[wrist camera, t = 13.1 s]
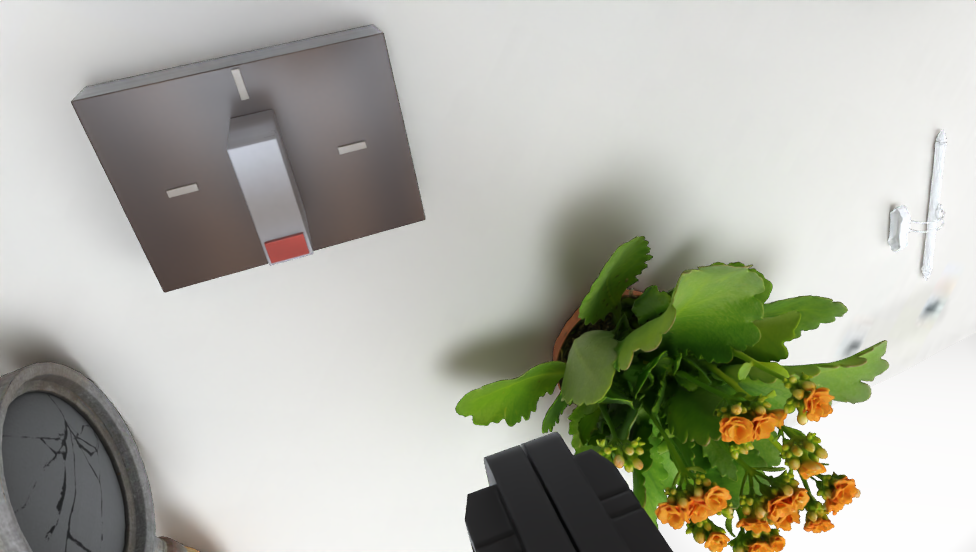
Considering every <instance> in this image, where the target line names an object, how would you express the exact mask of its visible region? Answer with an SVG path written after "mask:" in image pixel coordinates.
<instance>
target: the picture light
mask: <svg viewBox="0 0 976 552" xmlns="http://www.w3.org/2000/svg"><path fill="white" fill-rule="evenodd" d="M946 139H947V138H946V134H945V133H944V130H941V131H940V133H939V134H938V137H937V138H936V141H937V142H935V156H934V165H933V175H932V184H931V194H930V203H929V213H928V222H917V221H912V220H911V217H910V214H909V212H908V211H907V207H906V206H904V205H902V206H899V207H897V208H895V209H894V210H893V211H892V212H890V217H891V224H890V237H889V239H888V243H889V245H890V246H891V250H892V251H893V252H897V251H899V250H901V249H903V248H904V247H906V246H907V245H908V242H907V233H909V232H910V231H914V232H921V233H926V241H925V250H924V260H923V266H922V274H923V277H924V280H927V278H929V276H930V274H931V271H932V261H933V253H934V244H935V235H936V231H937V230H939V229H940V228H942V226H943V225H944V221H943V217H944V216H945V212H944V210H943V209H942V205H939V200H940V192H941V183H942V174H943V166H944V157H945V148H946V146H947V142H946ZM941 212H943V216H942V217H941ZM940 220H941V221H942V225H941V226H940V227H939V228H937V229H936V227H937V222H938V221H940ZM911 222H914V223H921V224H927V231H917V230H912V229H910V224H911Z"/></svg>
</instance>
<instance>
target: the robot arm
mask: <svg viewBox="0 0 976 552" xmlns="http://www.w3.org/2000/svg"><path fill="white" fill-rule="evenodd" d="M484 464H485V468H486V473H487V477H488V482H489V487H487V488H484V489H481V490H478V491H476V492H473V493H470V494H468V496H467V505H466V514H465V523H466V526H467V530H468V534H469V538H470V542H471V546H472V549H473V552H673V551H672V550H671V548H670V547H669V545H668V544H667V542H666V541H665V539H664V538H663V536H662V535H661V533H660V532H659V530H658V529H657V527H656V526H655V524H654V523H653V521H652V520H651V518H650V517H649V515H648V514H647V512H646V511H645V509H644V508H642V507H641V505H640V502H639V500H638V499H637V497H636V496H635V495H634V493H633V492H632V490H630V489H629V486H628V484H627V483H626V481H625V480H624V478H623V477H622V475H621V474H620V472H619V471H618V469H617V468H616V466H615V465H614V464H613V463H612V462H610V461H609V460H607V459H606V458H604V457H603V456H602V455H600V454H599V453H597V452H596V451H594V450H593V449H589V450H587V451H584V452H581V453H578V454H576V455H572V453H571V452H570V450H569V449H568V447H567V445H566V444H565V442H564V440H563V439H562V437H561V436H560V434H559V433H558V432H554V433H551V434H548V435H545V436H542V437H540V438H537V439H534V440H531V441H528V442H526V443H523V444H521V446H520V445H518V446H515V447H512V448H509V449H507V450H504V451H501V452H498V453H495V454H493V455H490V456H487V457H484Z"/></svg>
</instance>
